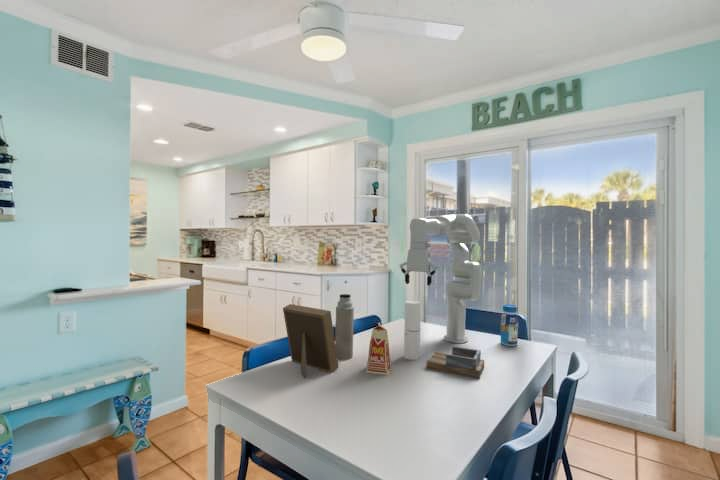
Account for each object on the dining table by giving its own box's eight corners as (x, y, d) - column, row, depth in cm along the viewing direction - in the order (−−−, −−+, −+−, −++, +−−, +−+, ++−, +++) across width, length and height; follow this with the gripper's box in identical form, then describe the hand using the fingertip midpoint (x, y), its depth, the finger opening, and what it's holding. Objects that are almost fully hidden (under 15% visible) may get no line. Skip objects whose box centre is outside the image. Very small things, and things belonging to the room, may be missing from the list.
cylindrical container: (414, 360, 158) (416, 304, 158) (400, 357, 163) (402, 302, 162) (422, 356, 164) (423, 302, 164) (408, 353, 168) (410, 300, 168)
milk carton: (388, 375, 141) (389, 324, 141) (365, 373, 143) (366, 323, 143) (391, 367, 150) (392, 319, 150) (369, 365, 152) (370, 317, 152)
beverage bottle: (500, 340, 193) (501, 303, 192) (518, 343, 189) (519, 305, 189) (499, 344, 185) (500, 306, 185) (517, 347, 181) (518, 307, 181)
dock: (435, 358, 162) (435, 343, 162) (484, 367, 152) (484, 350, 152) (426, 368, 149) (427, 352, 149) (479, 378, 140) (479, 360, 140)
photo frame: (298, 358, 158) (299, 302, 157) (338, 369, 146) (339, 308, 145) (273, 369, 145) (273, 307, 145) (314, 382, 133) (315, 315, 133)
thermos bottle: (336, 353, 166) (337, 292, 166) (353, 354, 165) (354, 293, 165) (333, 359, 158) (334, 295, 158) (351, 360, 157) (352, 296, 157)
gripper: (439, 246, 160) (439, 284, 161) (402, 245, 167) (402, 282, 168) (436, 247, 153) (435, 287, 154) (397, 245, 160) (396, 284, 161)
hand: (418, 284), depth 161 cm, fingers open, 9 cm apart
